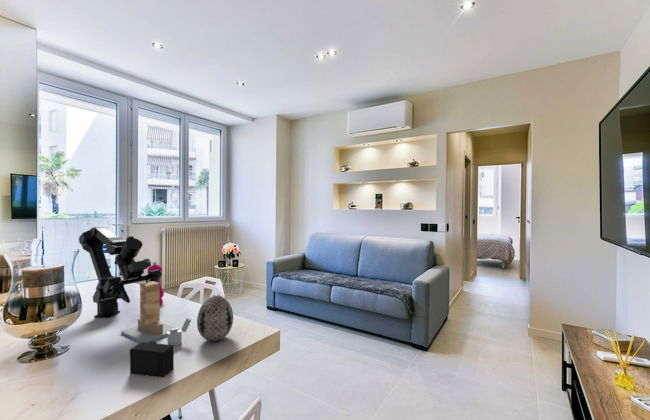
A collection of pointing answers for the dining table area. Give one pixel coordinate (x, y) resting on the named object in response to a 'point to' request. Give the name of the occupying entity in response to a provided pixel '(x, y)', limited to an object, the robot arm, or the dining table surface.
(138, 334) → the ridge stand
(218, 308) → the decorative egg
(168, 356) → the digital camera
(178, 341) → the lighter
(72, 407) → the dining table surface
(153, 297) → the oak block
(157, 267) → the pepper mill
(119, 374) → the dining table surface
